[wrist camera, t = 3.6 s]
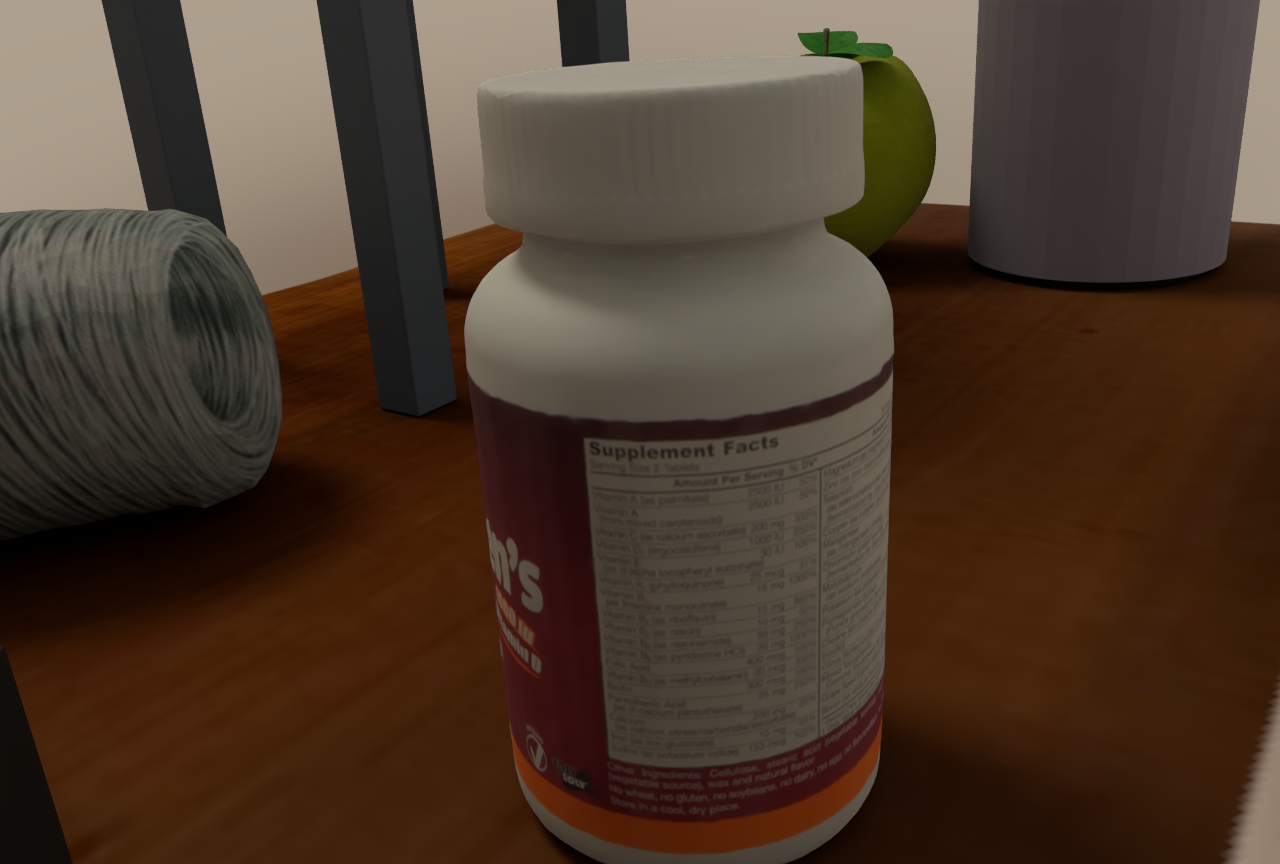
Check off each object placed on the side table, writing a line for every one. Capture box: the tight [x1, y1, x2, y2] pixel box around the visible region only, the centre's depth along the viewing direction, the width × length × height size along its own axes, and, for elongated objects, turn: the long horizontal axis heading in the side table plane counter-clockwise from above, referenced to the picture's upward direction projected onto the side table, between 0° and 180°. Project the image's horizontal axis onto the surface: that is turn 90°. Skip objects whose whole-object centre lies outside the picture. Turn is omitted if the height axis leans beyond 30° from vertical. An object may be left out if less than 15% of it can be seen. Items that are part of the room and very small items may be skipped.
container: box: [968, 0, 1260, 288], centre depth 46 cm, size 10×10×15 cm
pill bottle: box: [464, 55, 894, 864], centre depth 17 cm, size 6×6×11 cm
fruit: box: [798, 28, 936, 257], centre depth 50 cm, size 9×9×10 cm
